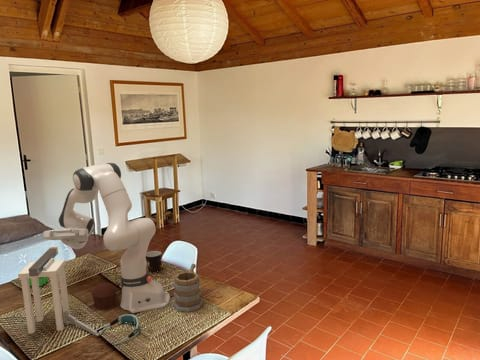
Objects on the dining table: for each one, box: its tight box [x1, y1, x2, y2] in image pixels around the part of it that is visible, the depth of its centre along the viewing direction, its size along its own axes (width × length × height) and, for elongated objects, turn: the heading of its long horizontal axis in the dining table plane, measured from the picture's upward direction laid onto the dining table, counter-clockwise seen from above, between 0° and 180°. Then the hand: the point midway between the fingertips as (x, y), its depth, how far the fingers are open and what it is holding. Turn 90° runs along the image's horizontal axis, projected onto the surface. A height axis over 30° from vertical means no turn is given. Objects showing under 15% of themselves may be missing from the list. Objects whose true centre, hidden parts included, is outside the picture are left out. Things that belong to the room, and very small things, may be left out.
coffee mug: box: [146, 250, 162, 273], centre depth 208 cm, size 12×9×10 cm
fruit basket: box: [29, 276, 49, 287], centre depth 196 cm, size 11×9×11 cm
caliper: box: [62, 310, 100, 337], centre depth 154 cm, size 20×1×6 cm, turn 62°
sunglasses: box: [97, 313, 140, 348], centre depth 151 cm, size 14×15×5 cm
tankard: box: [172, 263, 204, 313], centre depth 174 cm, size 20×13×15 cm, turn 168°
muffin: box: [90, 282, 118, 311], centre depth 173 cm, size 12×11×10 cm
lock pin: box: [28, 246, 59, 277], centre depth 156 cm, size 3×24×3 cm, turn 8°
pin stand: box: [18, 257, 71, 335], centre depth 156 cm, size 14×12×28 cm
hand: (61, 230), depth 179 cm, fingers open, 8 cm apart
